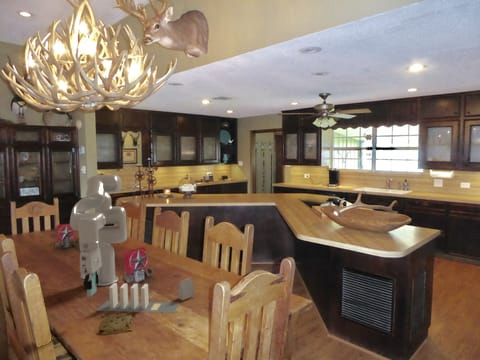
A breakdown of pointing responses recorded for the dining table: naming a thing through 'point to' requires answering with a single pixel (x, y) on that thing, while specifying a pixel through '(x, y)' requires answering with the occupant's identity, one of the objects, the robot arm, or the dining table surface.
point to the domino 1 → (94, 288)
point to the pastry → (116, 323)
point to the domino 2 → (113, 295)
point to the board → (152, 307)
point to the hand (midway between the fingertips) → (91, 285)
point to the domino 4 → (134, 296)
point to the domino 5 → (144, 296)
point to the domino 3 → (124, 295)
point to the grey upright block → (186, 289)
